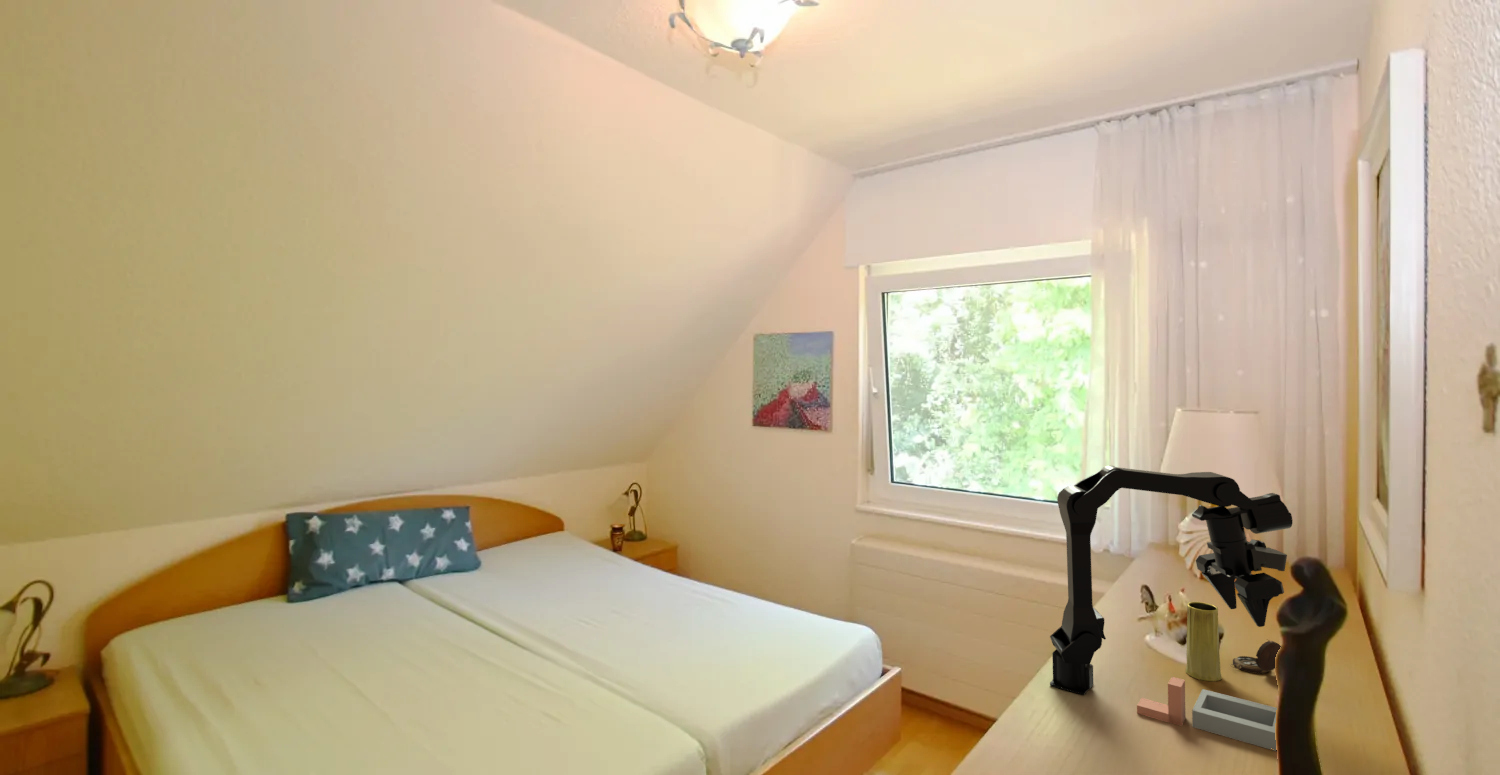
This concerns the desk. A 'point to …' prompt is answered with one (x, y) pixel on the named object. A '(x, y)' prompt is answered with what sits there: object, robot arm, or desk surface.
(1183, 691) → the bracket
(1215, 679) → the vase
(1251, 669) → the compass
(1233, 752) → the desk surface
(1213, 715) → the well block
